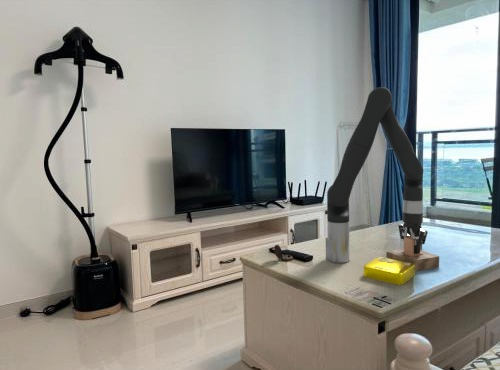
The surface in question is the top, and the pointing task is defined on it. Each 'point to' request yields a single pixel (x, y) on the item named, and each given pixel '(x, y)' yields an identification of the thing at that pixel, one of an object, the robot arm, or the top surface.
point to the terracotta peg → (409, 247)
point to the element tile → (389, 270)
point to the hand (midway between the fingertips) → (411, 251)
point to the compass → (279, 254)
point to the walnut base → (415, 259)
